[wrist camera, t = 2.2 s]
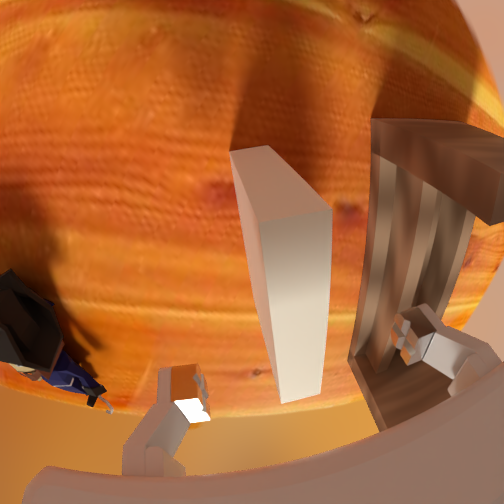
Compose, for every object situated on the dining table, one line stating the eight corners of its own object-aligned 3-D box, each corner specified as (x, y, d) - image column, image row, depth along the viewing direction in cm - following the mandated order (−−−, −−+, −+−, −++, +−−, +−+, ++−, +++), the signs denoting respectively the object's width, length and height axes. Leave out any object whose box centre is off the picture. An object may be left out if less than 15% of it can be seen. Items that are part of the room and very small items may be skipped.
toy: (44, 392, 20) (-62, 313, 9) (65, 340, 25) (-19, 241, 13) (118, 429, 20) (3, 372, 8) (138, 367, 24) (57, 265, 12)
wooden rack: (370, 118, 14) (500, 173, 6) (461, 121, 14) (565, 170, 7) (347, 360, 26) (381, 437, 19) (412, 337, 27) (452, 401, 19)
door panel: (228, 151, 14) (258, 222, 7) (267, 144, 14) (332, 209, 7) (253, 299, 20) (281, 403, 13) (282, 293, 20) (320, 393, 13)
